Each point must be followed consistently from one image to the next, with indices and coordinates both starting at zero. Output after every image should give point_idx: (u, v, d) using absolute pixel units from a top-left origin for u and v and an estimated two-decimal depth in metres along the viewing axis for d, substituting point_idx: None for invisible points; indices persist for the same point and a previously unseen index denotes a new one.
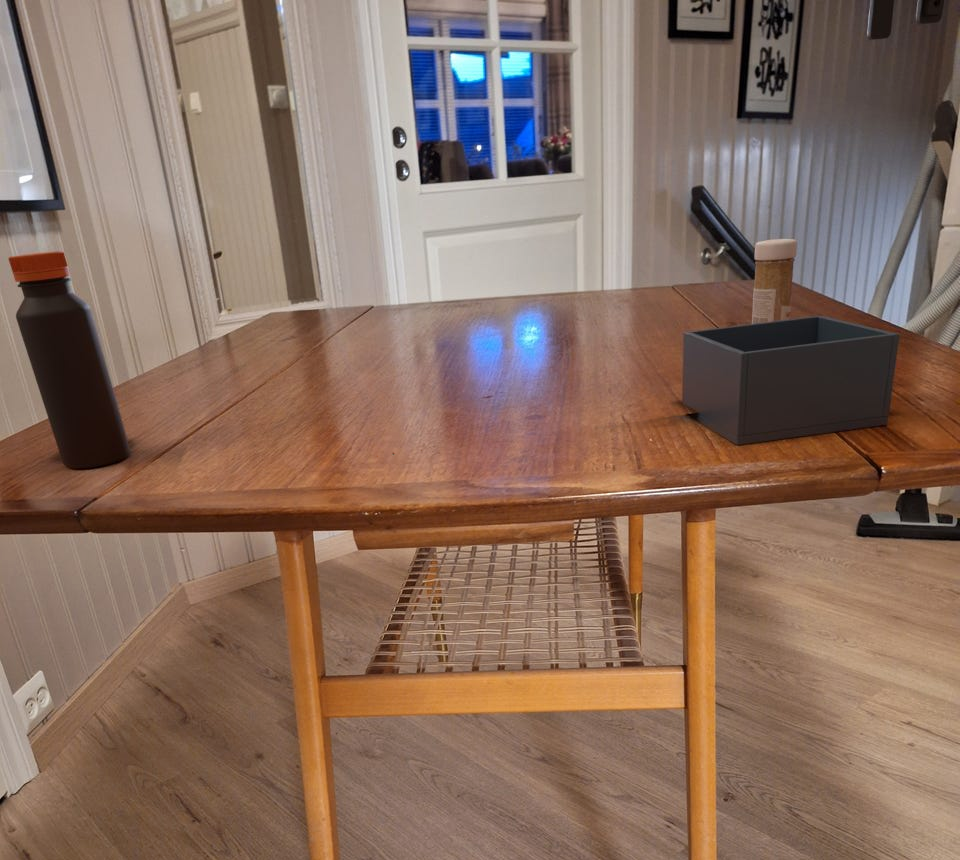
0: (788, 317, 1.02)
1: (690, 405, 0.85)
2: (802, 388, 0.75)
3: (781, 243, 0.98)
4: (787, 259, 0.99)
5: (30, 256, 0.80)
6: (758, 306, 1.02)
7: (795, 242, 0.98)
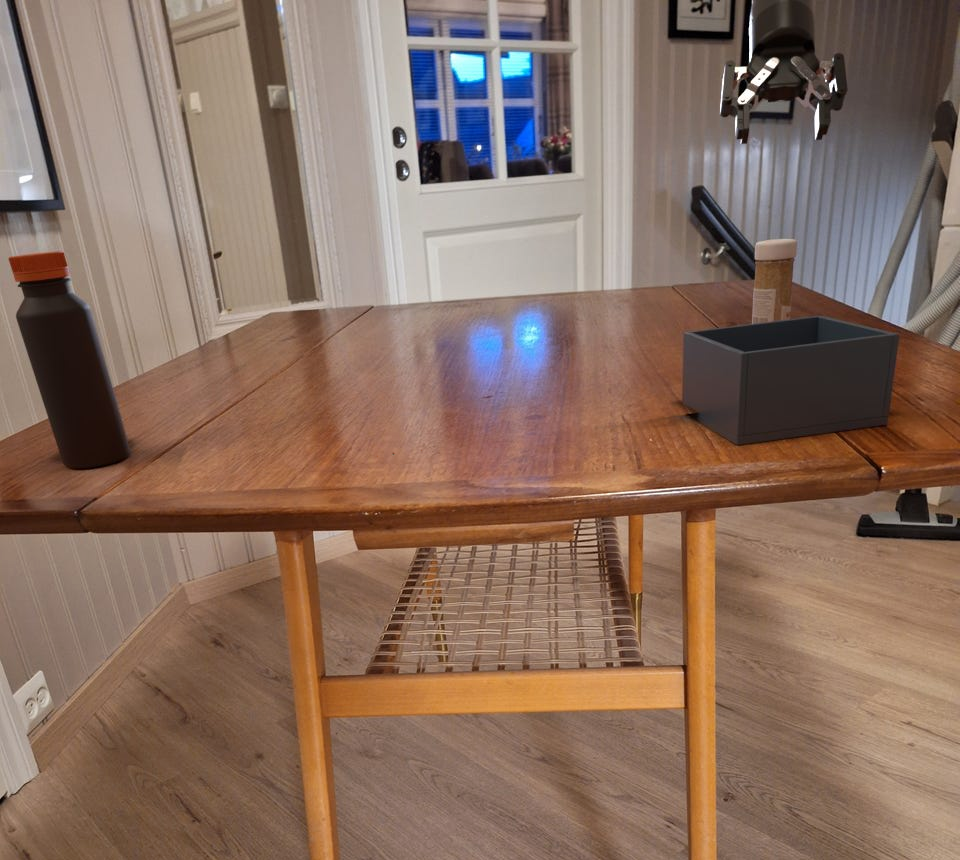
0: (788, 317, 1.02)
1: (690, 405, 0.85)
2: (802, 388, 0.75)
3: (781, 243, 0.98)
4: (787, 259, 0.99)
5: (30, 256, 0.80)
6: (758, 306, 1.02)
7: (795, 242, 0.98)
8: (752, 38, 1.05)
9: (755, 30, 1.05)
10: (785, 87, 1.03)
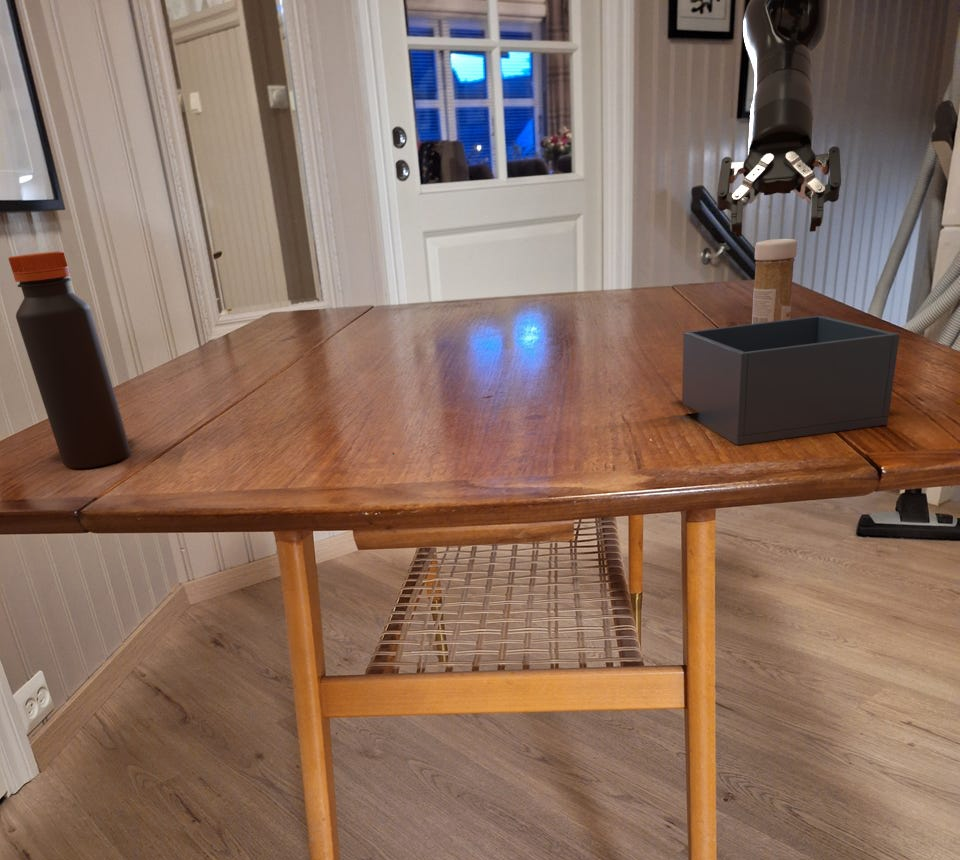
0: (788, 317, 1.02)
1: (690, 405, 0.85)
2: (802, 388, 0.75)
3: (781, 243, 0.98)
4: (787, 259, 0.99)
5: (30, 256, 0.80)
6: (758, 306, 1.02)
7: (795, 242, 0.98)
8: (750, 134, 1.08)
9: (752, 127, 1.08)
10: (780, 181, 1.05)
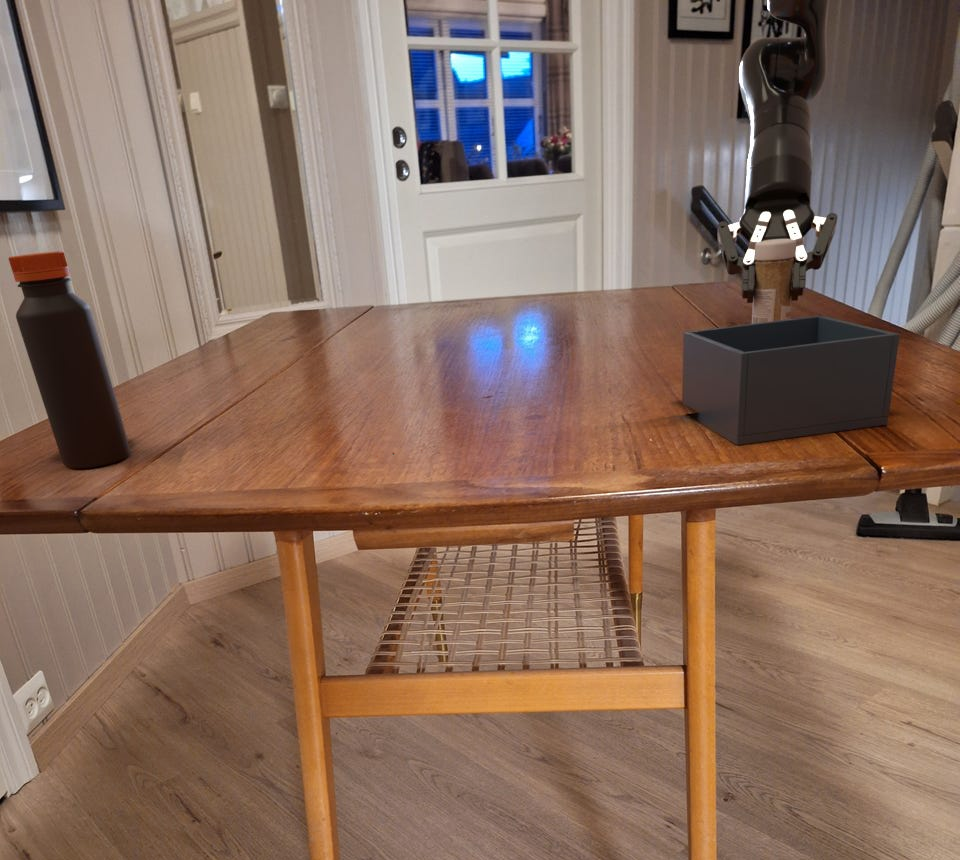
0: (788, 317, 1.02)
1: (690, 405, 0.85)
2: (802, 388, 0.75)
3: (781, 243, 0.98)
4: (787, 259, 0.99)
5: (30, 256, 0.80)
6: (758, 306, 1.02)
7: (795, 242, 0.98)
8: (746, 190, 1.04)
9: (749, 183, 1.04)
10: None
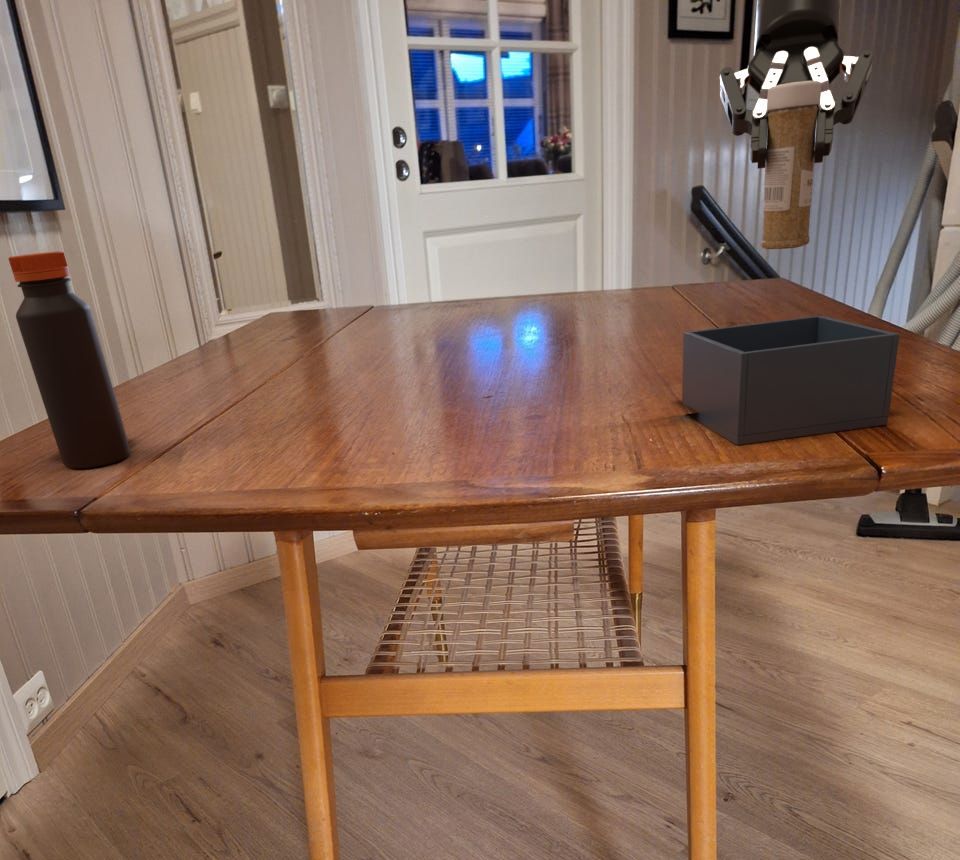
0: (810, 186, 0.80)
1: (690, 405, 0.85)
2: (802, 388, 0.75)
3: (801, 83, 0.76)
4: (809, 106, 0.77)
5: (30, 256, 0.80)
6: (771, 173, 0.80)
7: (819, 83, 0.76)
8: (756, 29, 0.82)
9: (760, 18, 0.82)
10: None
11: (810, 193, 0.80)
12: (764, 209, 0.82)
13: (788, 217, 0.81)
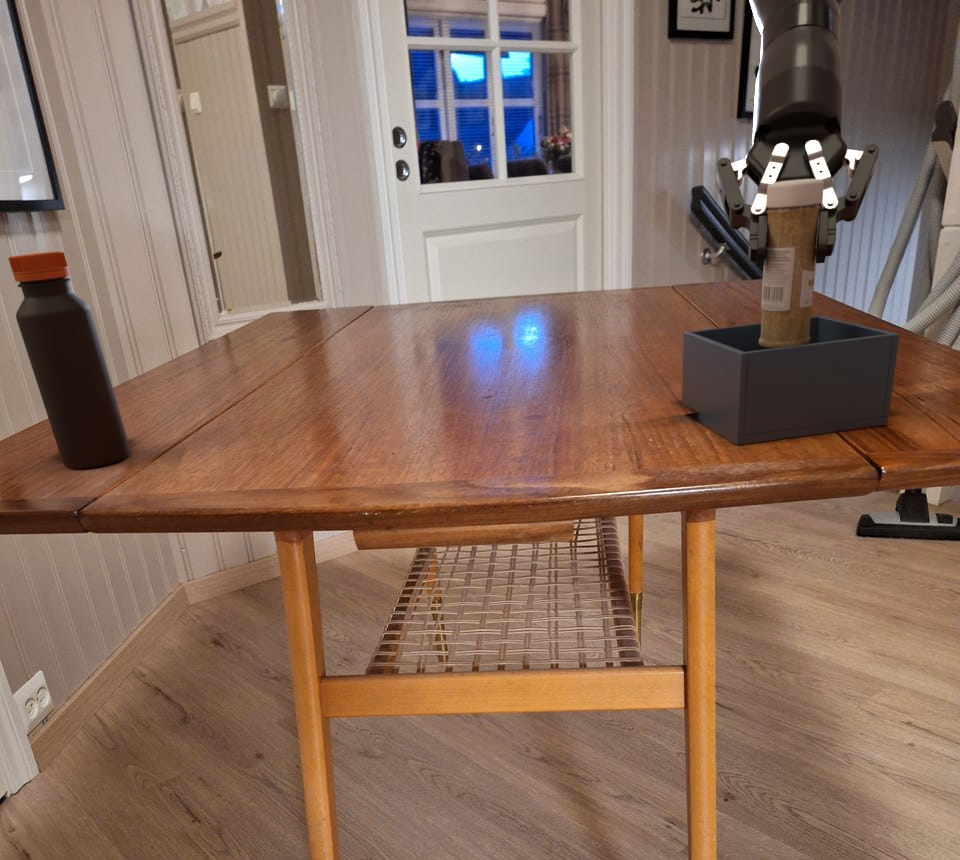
0: (811, 286, 0.76)
1: (690, 405, 0.85)
2: (802, 388, 0.75)
3: (803, 183, 0.71)
4: (811, 206, 0.72)
5: (30, 256, 0.80)
6: (770, 272, 0.76)
7: (822, 182, 0.72)
8: (755, 117, 0.78)
9: (758, 106, 0.78)
10: None
11: (811, 293, 0.76)
12: (763, 307, 0.78)
13: (788, 317, 0.76)
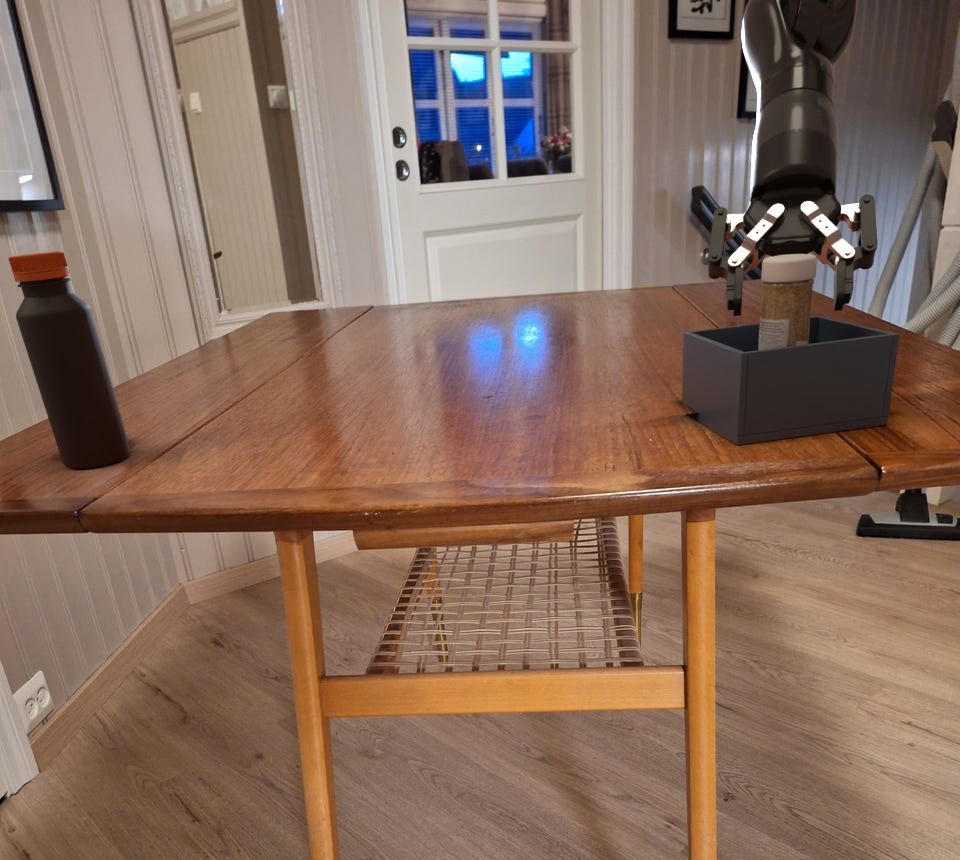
0: None
1: (690, 405, 0.85)
2: (802, 388, 0.75)
3: (797, 260, 0.74)
4: (804, 281, 0.75)
5: (30, 256, 0.80)
6: (766, 342, 0.78)
7: (815, 259, 0.75)
8: (752, 176, 0.80)
9: (755, 167, 0.80)
10: (793, 241, 0.77)
11: None
12: None
13: None
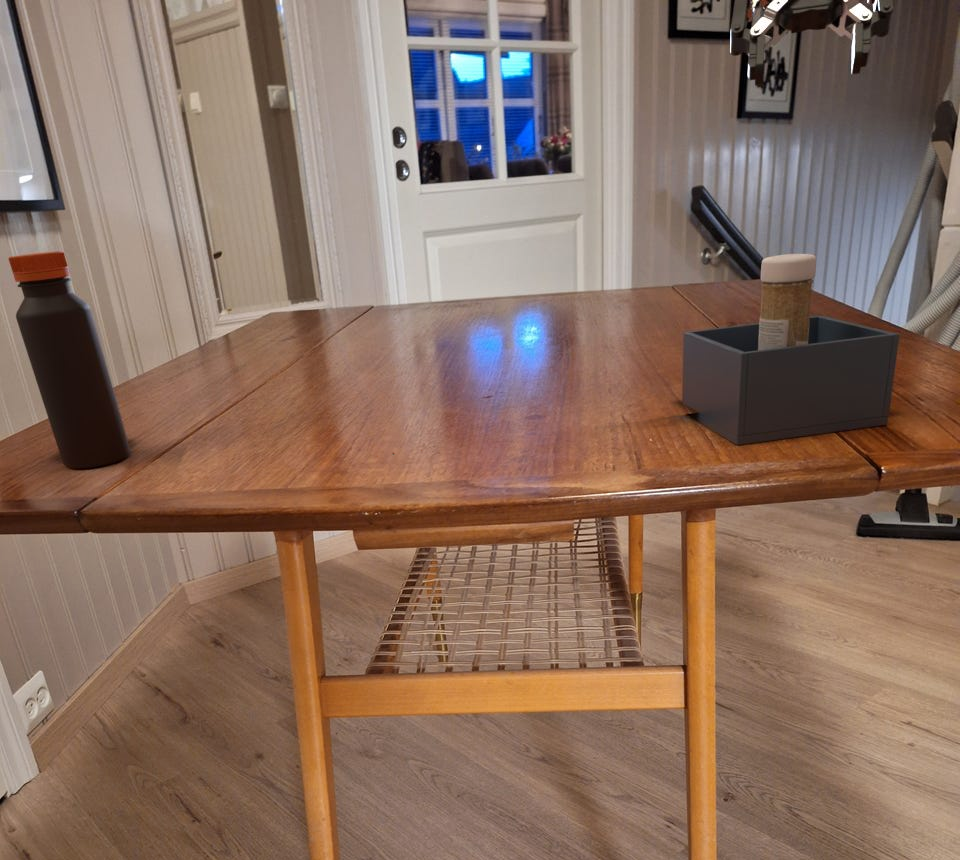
0: None
1: (690, 405, 0.85)
2: (802, 388, 0.75)
3: (796, 260, 0.74)
4: (803, 281, 0.75)
5: (30, 256, 0.80)
6: (765, 342, 0.78)
7: (814, 259, 0.75)
8: None
9: None
10: (812, 11, 0.81)
11: None
12: None
13: None
